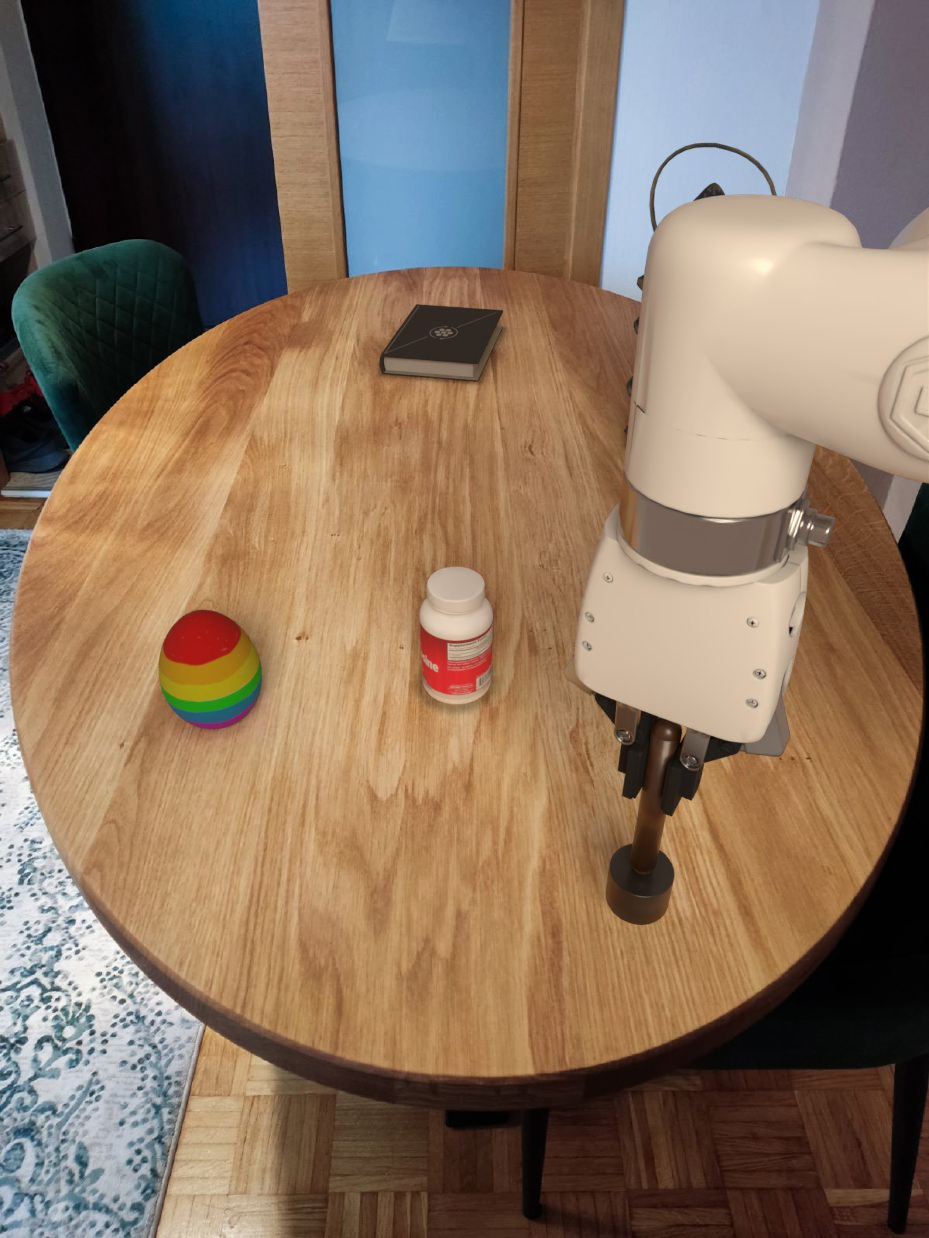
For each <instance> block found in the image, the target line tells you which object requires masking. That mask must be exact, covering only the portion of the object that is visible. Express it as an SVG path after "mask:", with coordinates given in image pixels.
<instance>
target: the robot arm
mask: <svg viewBox="0 0 929 1238" xmlns="http://www.w3.org/2000/svg"><path fill="white" fill-rule="evenodd" d="M644 265H645V266H644V271H643V272H644V273H643V275H644V280H643V289H642V290H641V298H640V299H641V301H640V307H639V309H640V310H639V316H640V317H639V316H638V317H639V327H638V335H636V336H637V337H636V347H635V354H634V355H635V356H634V364H633V365H634V366H633V373H632V376H633V383H632V392H631V397H630V405H629V414H628V422H627V423H628V424H627V425H628V434H627V435H626V443H625V454H624V461H623V468H622V469H623V471H622V479H621V489H620V498H619V501H618V502H617V503H616V504H615V505H614V506H613V508H612V509H611V511H610V513H609V514H608V516H607V517H606V519H605V521H604V524H603V527H602V529H601V532H600V535H599V538H598V541H597V543H596V547H595V550H594V552H593V557H592V560H591V564H590V568H589V571H588V575H587V579H586V583H585V587H584V591H583V595H582V600H581V605H580V611H579V616H578V620H577V621H578V622H577V626H576V634H575V640H574V641H575V642H574V653H573V655H572V657H571V658H570V660H569V661H568V663H567V665H566V666H565V668H564V669H563V676H564V678H565V679H566V680H567V681H569V682H570V683H571V684H573V685H574V686H576V687H577V688H578V689H580V690H582V691H583V692H584V693H586V694H587V695H588V696H589V697H590V696H593V697H594V701H595V702H596V704H597V705H598V706H599V708H600V710H602V711H603V713H604V714H605V715H606V717H607V718H608V719H609V720H610V721H611V723H612V724H613V726H614V727H613V735H614V738H615V740H617V741H618V742H619V743H620V749H619V756H618V764H617V772H619V773H622V774H624V778H623V786H622V792H621V797H623V798H626V799H628V800H630V801H632V800H633V799H634V800H635V799H637V797H638V795H639V793H641V790H642V785H643V779H644V772H645V766H646V760H647V754H648V748H649V742H650V735H651V729H652V725H653V723H654V721H655V720H656V719H658V718H659V717H661V718H664V719H666V720H669V721H672V722H675V723H677V724H680V725H681V726H683V727H685V728H686V730H685V733H684V735H683V737H682V738H681V741H680V746H679V748H678V750H677V751H676V752H675V753H674V755H673V757H672V759H671V761H670V763H669V765H668V768H667V773H666V779H665V784H664V790H663V795H662V800H661V806H660V810H663V813H664V814H666V816H668V817H673V815H674V813H675V812H676V809H677V808H678V806H679V804H680V802H681V800H682V798H683V799H685V800H688V801H690V802H692V801H693V800H694V798H695V796H696V794H697V792H698V790H699V787H700V784H701V781H702V778H703V777H702V776H703V772H704V767H705V764H706V763H710V762H713V761H717V760H720V759H724V758H727V757H731V756H734V755H737V754H739V753H741V752H744V753H745V755H754V756H764V757H774V758H776V757H777V758H778V757H781V756H783V755H784V753H785V751H786V748H787V746H788V744H789V741H790V739H791V731H790V726H789V722H788V717H787V712H786V708H785V707H786V706H785V702H784V697H785V694H786V691H787V689H788V686H789V683H790V679H791V677H792V672H793V669H794V664H795V660H796V655H797V650H798V645H799V641H800V638H801V637H800V636H801V631H802V625H803V619H804V615H805V608H806V602H807V601H806V600H807V592H808V582H809V581H808V580H809V548H808V545H812V546H816V547H819V548H824V549H826V547H827V545H828V543H829V542H830V539H831V535H832V533H833V530H834V526H835V523H836V516H832V515H828V514H824V513H820V512H819V509H817V508H813V507H810V506H811V499H809V498H807V494H808V490H809V487H810V483H808V479H809V475H810V471H811V467H812V464H813V458H814V455H815V452H816V448H817V446H820V447H822V448H825V449H827V450H830V451H832V452H834V453H837V454H839V455H841V456H844V457H847V458H849V459H852V460H854V461H856V462H859V463H861V464H863V465H866V466H868V467H872V468H874V469H877V470H879V471H881V472H885V473H888V474H891V475H894V476H896V477H900V478H903V479H906V480H911V481H915V482H919V483H923V484H924V483H925V484H928V485H929V206H928V207H927V208H926V209H924V210H923V211H922V212H920V213H919V214H918V215H917V216H916V217H914V218H913V219H912V220H911V221H910V222H909V223H908V224H906V226H904V228H903V229H901V231H900V232H899V233H898V235H897V236H896V237H895V238H894V240H892V242H891V243H890V245H889V246H888V248H885V249H883V248H868V247H863V246H862V241H861V237H860V235H859V232H858V230H857V228H856V227H855V225H854V224H853V223H852V222H851V220H849V219H848V218H847V216H846V215H844V214H843V213H841V212H839V211H837V210H835V209H833V208H830V207H828V206H825V205H824V204H821V203H817V202H814V201H810V200H806V199H801V198H797V197H792V196H791V197H790V196H783V195H777V196H774V195H772V194H757V193H755V194H754V193H751V194H750V193H747V194H745V193H743V194H741V193H740V194H738V193H737V194H725V195H721V196H713V197H707V198H703V199H699V200H696V201H693V200H692V201H689V202H686V203H683V204H681V205H679V206H677V207H675V208H674V209H673V210H671V211H670V212H668V213H667V214H666V215H665V216H664V217H663V218H662V219H661V220H660V222H659V223H658V224H657V228H656V230H655V232H654V231H653V233H652V235H651V237H650V241H649V244H648V246H647V252H646V259H645V264H644Z"/></svg>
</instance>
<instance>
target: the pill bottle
mask: <svg viewBox="0 0 929 1238" xmlns="http://www.w3.org/2000/svg"><path fill="white" fill-rule="evenodd" d="M485 585H486V584H485V580H484V578H483V576H482V575H481V574H480V573H478V572H477V571H475V570H473V569H472V568H469V567H465V566H447V567H443V568H440V569H438V570H436V571H434V572H433V573H432V574H431V575H430V576H429V577H428V579H427V583H426V597H425V599H424V600H423V601H422V603H421V606H420V607H419V614H418V615H419V616H418V619H419V643H420V644H419V645H420V663H421V666H420V667H421V680H422V685H423V688H424V690H425V691H426V692H427V694H428V695H429V696H430V697H431V698H433V699H435V701H438V702H439V703H440V702H441V703H443V704H448V705H465V704H470V703H472V702H475V701H477V700H479V699H481V698H482V697H483V696H484V695H485V694H486V693H487V692H488V690H489V689H490V687H491V684H492V677H493V631H494V630H493V628H494V612H493V607H492V604H491V603H490V601H489V600H488V598H487V597H486V590H485V589H486V588H485Z"/></svg>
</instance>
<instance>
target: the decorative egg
mask: <svg viewBox="0 0 929 1238" xmlns="http://www.w3.org/2000/svg"><path fill="white" fill-rule="evenodd" d="M262 669H263V668H262V663H261V659H260V655H259V653H258V650H257V648H256V646H255V644H254V642H253V640H252V639H251V637H250V636H249V634H248V633H247V632H246V631H245V630H244V628H243V627H242V626H241V625H239V624H238V623H237V622H236V621H235V620H234V619H233V618H230V617H229V616H227V615H225V614H223V613H221V612H219V611H216V610H212V609H196V610H193V611H190V612H188V613H186V614H184V615H182V616H181V617H180V618H178V619H177V620H176V621H175V622H174V624H172V625H171V627H170V629H169V630H168V632H167V634H166V636H165V637H164V640H163V642H162V644H161V648H160V652H159V657H158V679H159V684H160V688H161V692H162V694H163V696H164V698H165V701H166V702H167V704H168V706H169V707H170V708H171V710H172V711H173V712H174V713H175V714H176V715H177V716H178V717H179V718H180V719H182V721H184V722H186V723H187V724H190V725H192V726H194V727H196V728H200V729H204V730H220V729H224V728H228V727H230V726H233V725H236V724H237V723H239V722H240V721H242V720H243V719H244V718H245V717H247V715H248V714H249V713H250V712H251V711H252V710H253V707H255V705H256V703H257V701H258V699H259V695H260V693H261V689H262V683H263V670H262Z"/></svg>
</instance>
